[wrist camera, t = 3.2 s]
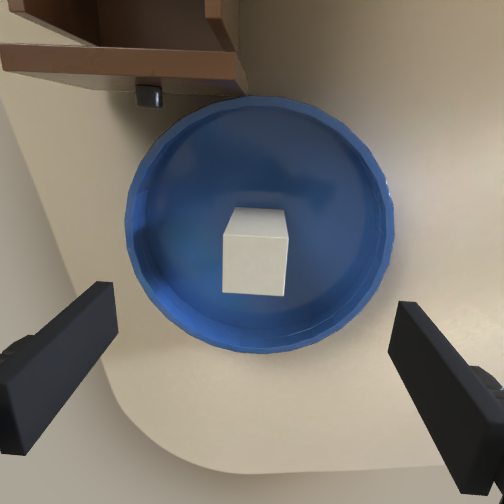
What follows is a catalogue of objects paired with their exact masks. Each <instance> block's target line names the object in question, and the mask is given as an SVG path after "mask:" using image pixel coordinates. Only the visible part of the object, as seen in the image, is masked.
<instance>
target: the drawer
mask: <svg viewBox="0 0 504 504" xmlns="http://www.w3.org/2000/svg"><path fill="white" fill-rule="evenodd" d="M7 1H8V7H9V11H10V12H12V13H14V14H16V15H18V16H21V17H23V18H25V19H27V20H30V21H32V22H34V23H36V24H39V25H41V26H43V27H45V28H48V29H50V30H52V31H54V32H56V33H59V34H61V35H63V36H65V37H68V38H70V39H72V40H74V41H77V42H79V43H81V44H83V45H86V46H71V45H45V44H20V43H0V57H1V62H2V67H3V70H4V71H7V72H12V73H16V74H21V75H26V76H30V77H35V78H40V79H44V80H49V81H54V82H58V83H63V84H68V85H72V86H77V87H82V88H86V89H91V90H106V91H129V92H135V96H136V106H137V107H140V108H156V109H162V108H163V93H175V94H198V95H222V96H247V86H248V78H247V76H246V74H245V72H244V70H243V67H242V65H241V63H240V61H239V59H238V40H239V0H7Z"/></svg>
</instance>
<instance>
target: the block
mask: <svg viewBox="0 0 504 504" xmlns="http://www.w3.org/2000/svg"><path fill="white" fill-rule="evenodd" d="M288 240H289V238H288V232H287V226H286V220H285V214H284V210H280V209H261V208H243V207H235V209H234V211H233V214H232V216H231V218H230V220H229V223H228V225H227V227H226V229H225V232H224V234H223V278H222V292H223V293H239V294H255V295H271V296H284V287H285V275H286V264H287V252H288Z"/></svg>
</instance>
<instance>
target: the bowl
mask: <svg viewBox="0 0 504 504" xmlns="http://www.w3.org/2000/svg"><path fill="white" fill-rule="evenodd" d="M235 207H243V208H261V209H280V210H284V214H285V220H286V226H287V232H288V238H289V240H288V252H287V264H286V275H285V287H284V296H271V295H255V294H239V293H223V292H222V278H223V234H224V232H225V229H226V227H227V225H228V223H229V220H230V218H231V216H232V214H233V211H234V209H235ZM124 223H125V233H126V244H127V251H128V254H129V257H130V260H131V263H132V266H133V269H134V272H135V275H136V277H137V279H138V280H139V282H140V284H141V285H142V287H143V289H144V291H145V292H146V294H147V296H148V297H149V299H150V300H151V301H152V302H153V303H154V304H155V306H156V307H157V308H158V309H159V310H160V311H161V312H162V313H163V314H164V315H165V317H166V318H168V319H169V320H170V321H171V322H173V323H174V324H175V325H177V326H178V327H180V328H181V329H182V330H184V331H185V332H186V333H188V334H189V335H191V336H193V337H195V338H197V339H200V340H202V341H204V342H206V343H208V344H210V345H212V346H216V347H219V348H223V349H227V350H231V351H235V352H241V353H256V354H270V353H279V352H287V351H292V350H295V349H298V348H302V347H305V346H308V345H311V344H314V343H317V342H319V341H320V340H322V339H324V338H326V337H328V336H329V335H331V334H333V333H335V332H337V331H338V330H339V329H341V328H342V327H343V326H345V325H346V324H347V323H348V322H349V321H351V320H352V319H353V318H354V317H355V316H356V315H358V314H359V313H360V312H361V311H362V309H363V308H364V307H365V305H366V304H367V303H368V301H369V300H370V299H371V297H372V296H373V295H374V294H375V292H376V291H377V289H378V287H379V285H380V283H381V280H382V278H383V276H384V274H385V272H386V270H387V267H388V265H389V261H390V256H391V251H392V246H393V241H394V235H395V232H394V207H393V202H392V199H391V196H390V192H389V189H388V185H387V182H386V178H385V176H384V174H383V172H382V170H381V169H380V167H379V165H378V164H377V162H376V160H375V158H374V157H373V155H372V153H371V152H370V150H369V149H368V147H367V146H366V145H365V144H364V143H363V142H362V141H361V140H360V139H359V138H358V137H357V136H356V135H355V134H354V133H353V132H352V131H351V130H350V129H349V128H348V127H347V126H346V125H344V124H343V123H342V122H340V121H338V120H337V119H335V118H333V117H332V116H330V115H328V114H327V113H325V112H323V111H322V110H320V109H318V108H317V107H314V106H311V105H308V104H304V103H301V102H298V101H294V100H291V99H288V98H284V97H274V96H251V95H248V96H242V97H237V98H232V99H227V100H222V101H217V102H214V103H211V104H209V105H207V106H205V107H203V108H201V109H199V110H197V111H194V112H192V113H190V114H188V115H186V116H184V117H183V118H181V119H180V120H179V121H178V122H177V123H175V124H174V125H173V126H172V127H171V128H169V129H168V130H167V131H166V132H165V133H163V134H162V135H161V136H160V137H159V138H158V139H157V140H156V142H155V143H154V144H153V146H152V147H151V149H150V150H149V151H148V153H147V154H146V155H145V157H144V158H143V160H142V161H141V162H140V164H139V166H138V169H137V171H136V174H135V176H134V179H133V181H132V184H131V186H130V189H129V192H128V199H127V206H126V213H125V221H124Z"/></svg>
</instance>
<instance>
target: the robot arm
mask: <svg viewBox="0 0 504 504" xmlns="http://www.w3.org/2000/svg"><path fill="white" fill-rule="evenodd" d="M117 334H118V324H117V315H116V306H115V297H114V288H113V282H101V281H96V282H95V283H94V284H93V285H92V286H91V287H90V288H88V289H87V290H86V291H85V292H84V293H83V294H81V295H80V296H79V297H78V298H77V299H76V300H75V301H73V302H72V303H71V304H70V305H69V306H68V307H66V308H65V309H64V310H63V311H62V312H61V313H59V314H58V315H57V316H56V317H55V318H54V319H52V320H51V321H50V322H49V323H48V324H47V325H46V326H44V327H43V328H42V329H41V330H40V331H39V332H38V333H36V334H35V335H27V336H25V337H23V338H21V339H20V340H18V341H16V342H14V343H13V344H11V345H10V346H9V347H8V348H7V349H5V350H4V351H3V352H2V354H0V451H1V454H10V455H22V456H26V454H27V453H28V452H29V450H30V449H31V448H32V446H33V445H34V444H35V442H36V441H37V440H38V439H39V437H40V436H41V435H42V433H43V432H44V431H45V429H46V428H47V427H48V425H49V424H50V423H51V421H52V420H53V418H54V417H55V416H56V415H57V413H58V412H59V411H60V409H61V408H62V407H63V405H64V404H65V403H66V402H67V400H68V399H69V398H70V396H71V395H72V394H73V392H74V391H75V390H76V388H77V387H78V386H79V384H80V383H81V382H82V380H83V379H84V378H85V376H86V375H87V374H88V372H89V371H90V370H91V368H92V367H93V366H94V365H95V363H96V362H97V361H98V359H99V358H100V357H101V355H102V354H103V353H104V351H105V350H106V349H107V347H108V346H109V345H110V343H111V342H112V341H113V339H114V338H115V337H116V335H117ZM388 354H389V356H390V358H391V360H392V362H393V363H394V365H395V367H396V369H397V371H398V373H399V375H400V377H401V379H402V381H403V383H404V385H405V387H406V389H407V391H408V392H409V394H410V396H411V398H412V400H413V402H414V404H415V406H416V408H417V410H418V412H419V414H420V416H421V418H422V420H423V421H424V423H425V425H426V427H427V429H428V431H429V433H430V435H431V437H432V439H433V441H434V443H435V445H436V447H437V449H438V451H439V452H440V454H441V456H442V458H443V460H444V462H445V464H446V466H447V468H448V470H449V472H450V474H451V476H452V477H453V479H454V481H455V483H456V485H457V487H458V489H459V491H460V493H461V494H470V495H482V496H488V494H489V491H490V489H491V487H492V484H493V482H495V483H496V485H497V486H498V488H499V490H500V491H501V493H502V494H503V496H502V498H501V500H500V503H499V504H504V388H503V387H502V386H501V385H500V383H499V382H498V381H497V380H496V379H495V378H494V377H493V376H492V375H490V374H489V373H487V372H486V371H485V370H483V369H482V368H480V367H479V366H469V365H468V364H467V363H466V361H465V360H464V359H463V358H462V357H461V355H460V354H459V353H458V352H457V351H456V349H455V348H454V347H453V346H452V345H451V343H450V342H449V341H448V340H447V339H446V337H445V336H444V335H443V334H442V333H441V331H440V330H439V329H438V328H437V327H436V325H435V324H434V323H433V322H432V321H431V319H430V318H429V317H428V316H427V315H426V313H425V312H424V311H423V310H422V309H421V307H420V306H419V305H418V304H417V303H416V302H407V301H399V303H398V307H397V312H396V316H395V321H394V325H393V330H392V334H391V339H390V343H389V348H388Z"/></svg>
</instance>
